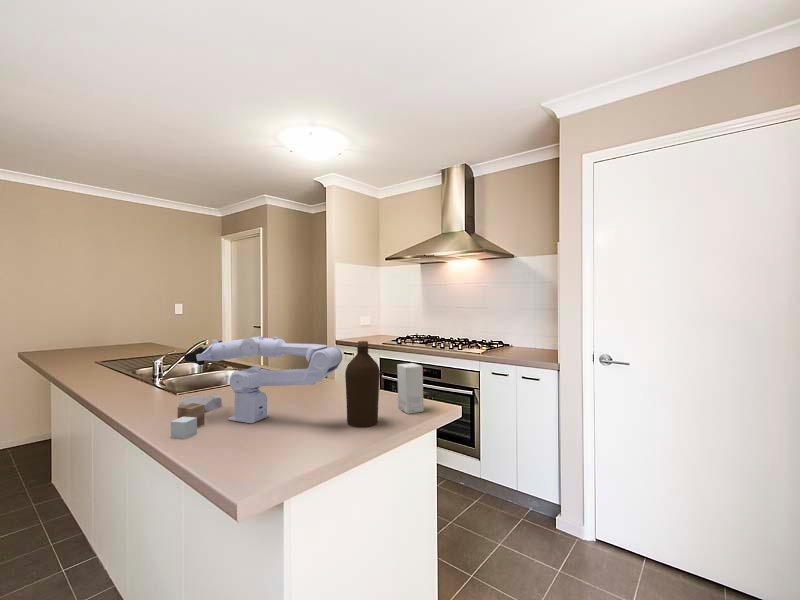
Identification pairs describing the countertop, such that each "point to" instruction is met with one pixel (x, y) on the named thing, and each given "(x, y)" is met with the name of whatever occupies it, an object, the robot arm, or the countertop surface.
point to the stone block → (204, 401)
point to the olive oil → (362, 388)
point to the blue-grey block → (183, 427)
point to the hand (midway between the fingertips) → (194, 355)
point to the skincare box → (410, 388)
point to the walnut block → (192, 412)
